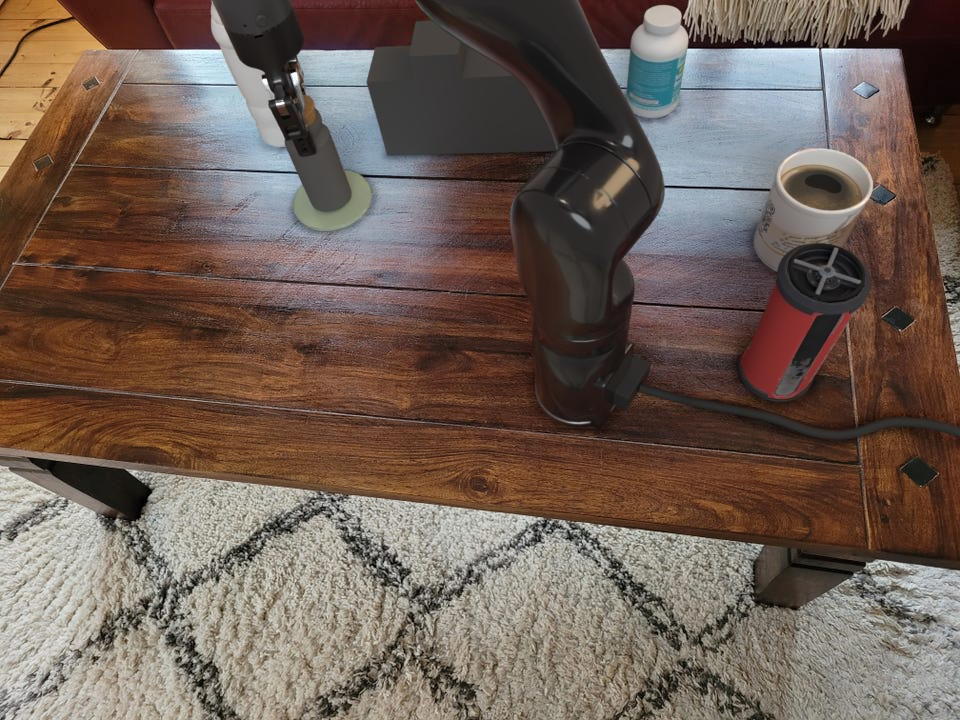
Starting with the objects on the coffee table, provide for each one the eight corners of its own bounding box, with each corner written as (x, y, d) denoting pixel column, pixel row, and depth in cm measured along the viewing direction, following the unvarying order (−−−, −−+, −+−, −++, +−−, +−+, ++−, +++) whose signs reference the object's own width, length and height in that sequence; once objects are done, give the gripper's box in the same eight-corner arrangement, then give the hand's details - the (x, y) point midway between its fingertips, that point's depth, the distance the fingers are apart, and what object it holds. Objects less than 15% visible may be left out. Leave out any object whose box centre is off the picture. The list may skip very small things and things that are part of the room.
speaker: (750, 332, 78) (796, 225, 62) (820, 359, 75) (886, 253, 60) (726, 386, 75) (768, 286, 59) (798, 415, 72) (861, 319, 57)
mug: (731, 248, 84) (753, 182, 75) (784, 191, 88) (810, 121, 78) (811, 291, 80) (844, 227, 70) (862, 229, 84) (900, 160, 74)
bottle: (303, 194, 95) (263, 105, 83) (340, 175, 97) (305, 84, 84) (321, 219, 93) (283, 130, 80) (359, 198, 94) (326, 108, 81)
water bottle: (317, 125, 104) (254, -41, 83) (287, 155, 101) (214, -9, 80) (283, 112, 107) (213, -53, 85) (253, 141, 104) (173, -22, 83)
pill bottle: (681, 119, 97) (697, 30, 85) (627, 122, 97) (636, 35, 86) (674, 84, 101) (688, -5, 89) (622, 88, 101) (630, 0, 90)
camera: (563, 76, 104) (562, -27, 91) (561, 151, 96) (560, 49, 82) (402, 83, 107) (379, -16, 94) (387, 155, 99) (359, 58, 86)
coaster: (387, 189, 96) (386, 186, 95) (336, 242, 91) (335, 239, 91) (329, 163, 100) (328, 160, 99) (278, 212, 95) (277, 209, 95)
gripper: (222, -21, 75) (276, 106, 89) (218, 57, 68) (279, 183, 82) (289, -35, 75) (333, 94, 89) (293, 42, 68) (340, 170, 82)
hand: (307, 136), depth 86 cm, fingers closed on bottle, 5 cm apart
